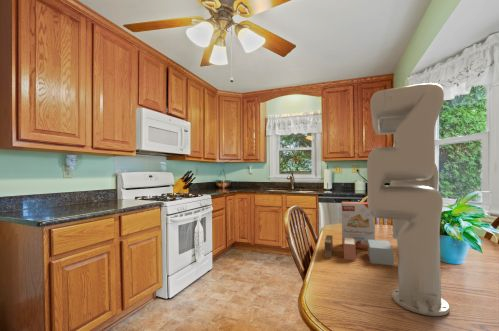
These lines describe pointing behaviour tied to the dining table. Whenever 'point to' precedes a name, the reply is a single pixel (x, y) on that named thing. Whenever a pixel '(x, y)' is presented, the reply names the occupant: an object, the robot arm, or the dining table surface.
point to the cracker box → (357, 223)
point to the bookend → (328, 246)
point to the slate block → (380, 252)
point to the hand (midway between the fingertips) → (408, 254)
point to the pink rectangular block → (349, 249)
